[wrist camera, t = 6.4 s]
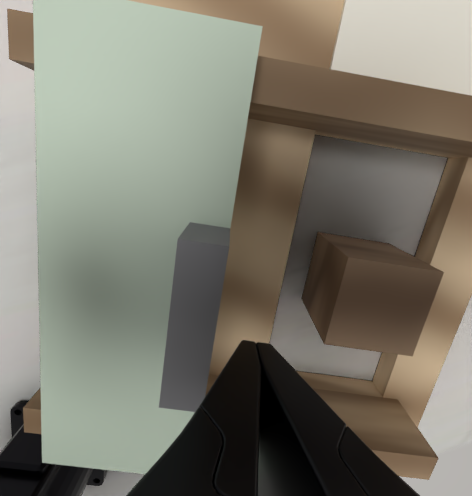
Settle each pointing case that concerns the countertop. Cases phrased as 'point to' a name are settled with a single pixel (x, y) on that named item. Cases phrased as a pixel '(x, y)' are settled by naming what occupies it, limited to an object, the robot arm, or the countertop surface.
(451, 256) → the puzzle board
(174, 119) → the sliding cover
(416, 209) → the countertop surface
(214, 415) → the robot arm
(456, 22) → the cream pad
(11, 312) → the countertop surface
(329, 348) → the countertop surface
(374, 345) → the walnut block
